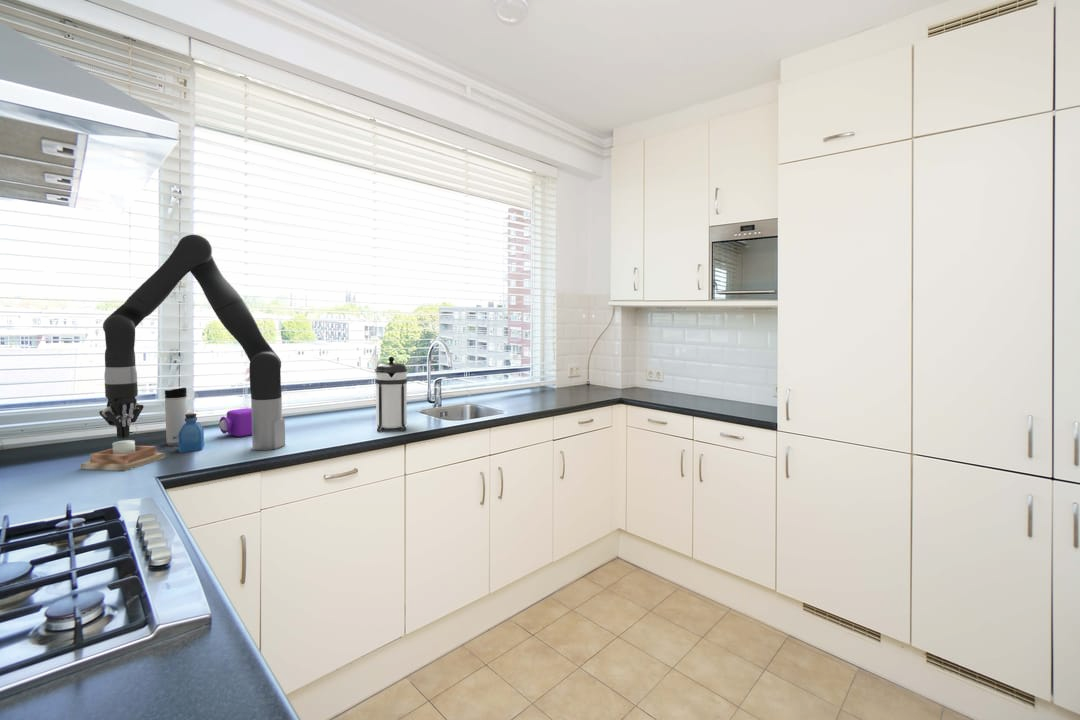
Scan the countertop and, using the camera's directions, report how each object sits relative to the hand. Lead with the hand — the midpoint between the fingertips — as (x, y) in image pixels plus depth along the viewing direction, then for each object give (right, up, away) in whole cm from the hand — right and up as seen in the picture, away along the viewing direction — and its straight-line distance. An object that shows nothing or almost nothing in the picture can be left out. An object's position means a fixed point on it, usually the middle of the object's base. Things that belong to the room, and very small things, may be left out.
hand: (123, 438), depth 151 cm
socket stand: (0, -8, +1) cm, 8 cm away
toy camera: (+12, -5, +39) cm, 42 cm away
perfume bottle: (+8, -7, +18) cm, 21 cm away
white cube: (0, -6, 0) cm, 6 cm away
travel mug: (-1, -6, +25) cm, 25 cm away
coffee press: (+64, -5, +55) cm, 85 cm away
